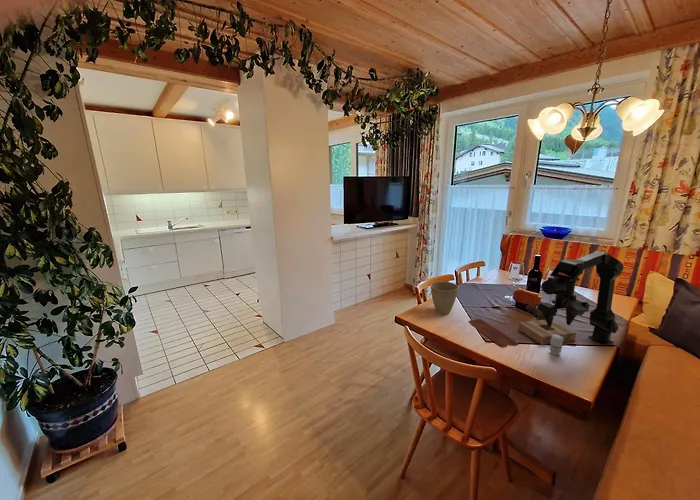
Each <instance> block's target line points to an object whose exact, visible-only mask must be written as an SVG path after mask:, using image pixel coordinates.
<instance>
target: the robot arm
mask: <svg viewBox="0 0 700 500" xmlns="http://www.w3.org/2000/svg"><path fill="white" fill-rule="evenodd" d="M594 266H595V267H596V268H595V272H596V273H597V276H598V277H599V285H598V292H597V293H598V294H597V301H596V307H595V308H594V309H593V310H591V311H590V312H589V309H590V303H589V302H588V301H579V300H577V295H576V294H574V293H575V288H576V284H577V283H576V282H578V281H580V278H579V276H581V275H583V273H584V271H585V270H587V269H590V268H591V267H594ZM623 271H624V264H623V262H621V260H619V259H617V258H615V257H614V256H612V255H611V254H610V253H609V252H605V251H598V250H595V251H593V252H592V253H589V254H586V255H584V256H582V257H579V258H574V259H573V258H571V259H570V258H568V259H561V260H560V261H559V262H558V263H557V264H556V266H555V267H554V269H553V270H552V272H550V273H551V274H550V276H548V277H547V280H544V281H543V282H542V283H541V289H542V291H543V293H544V294H546V295H550V296H551V295H555V297H554V299H553V300H551V303H549V302H539V303H538V304H537V307H536V308H537V309H539V310H540V311H542V313H543V315H544V317H545V319H546V322H547V325H548V326H549V327H551V325H552V322H553V321H554V317H556V316H557V315H558V314H557V313H558V310H565V318H566V319H565V321H566V325H567V326H570V325H571V324H572V323H573V321H574V320H575V319H576V317H578V316H583V315H584V314H585V313H586V312H589V325H590V326H593V329H592V335H588V338H589V339H591V340H593V341H595V342H597V343H598V344H601V345H606V344H608V345H609V344H613V343H614V341H613V340H611V336H612V334H617V332H618V330H619V326H618V324H617V322H616V315H615V313H614V312H613V310H612V306H613V305H612V303H613V299H614V298H613V297H614V290H615V284H616V283H615V282H616V279H617V278H619V277H620V275H622V272H623Z"/></svg>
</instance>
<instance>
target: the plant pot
mask: <svg viewBox="0 0 700 500" xmlns="http://www.w3.org/2000/svg"><path fill="white" fill-rule="evenodd" d="M459 288H460V287H459V286H458V285H457V283H453V282H452V281H451V282H450V281H442V280H441V281H440V280H439V281H434V282H432V283H430V292H431V298H432V302H433V306H434V308H435V311H436V313H437V314H439V315H443V316H444V315H449V314H450V313H451V311H452V309H453V306H454V305H455V302H456V299H457V296H458V291H459Z"/></svg>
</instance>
